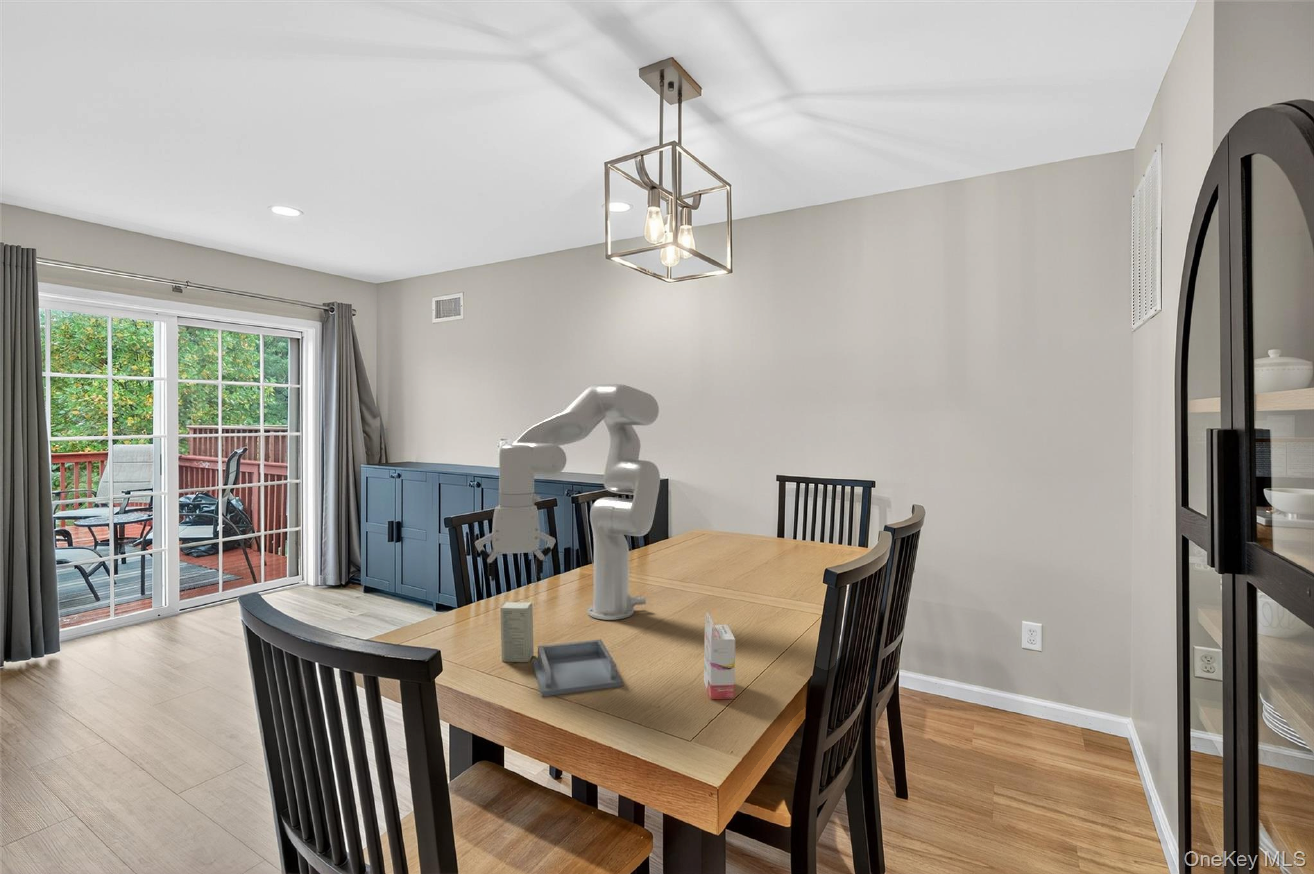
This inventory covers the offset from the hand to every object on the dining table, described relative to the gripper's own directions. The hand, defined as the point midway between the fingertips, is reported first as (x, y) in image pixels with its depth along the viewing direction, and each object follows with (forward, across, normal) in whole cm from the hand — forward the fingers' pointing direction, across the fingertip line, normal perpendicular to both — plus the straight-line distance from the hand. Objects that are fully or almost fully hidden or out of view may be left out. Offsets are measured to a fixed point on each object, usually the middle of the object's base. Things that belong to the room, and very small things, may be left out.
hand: (515, 578), depth 135 cm
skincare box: (+18, -1, -1) cm, 18 cm away
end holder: (+18, -12, +11) cm, 24 cm away
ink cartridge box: (+18, -38, +26) cm, 49 cm away
